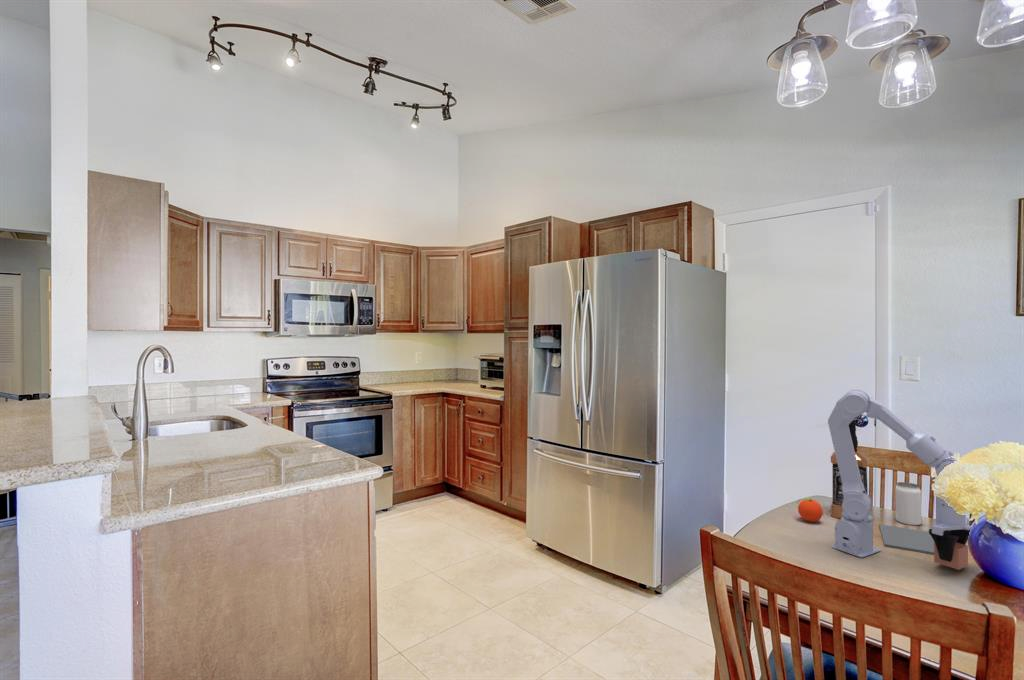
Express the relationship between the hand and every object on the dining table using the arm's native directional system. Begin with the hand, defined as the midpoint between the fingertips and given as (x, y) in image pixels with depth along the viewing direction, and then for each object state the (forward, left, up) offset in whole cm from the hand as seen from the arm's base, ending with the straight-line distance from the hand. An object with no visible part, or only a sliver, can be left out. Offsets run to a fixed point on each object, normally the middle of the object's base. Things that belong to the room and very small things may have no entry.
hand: (950, 557), depth 127 cm
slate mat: (+12, +14, -3) cm, 19 cm away
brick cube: (0, 0, -1) cm, 1 cm away
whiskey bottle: (+18, +34, -3) cm, 38 cm away
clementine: (+2, +38, -3) cm, 38 cm away
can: (+28, +22, -3) cm, 36 cm away
